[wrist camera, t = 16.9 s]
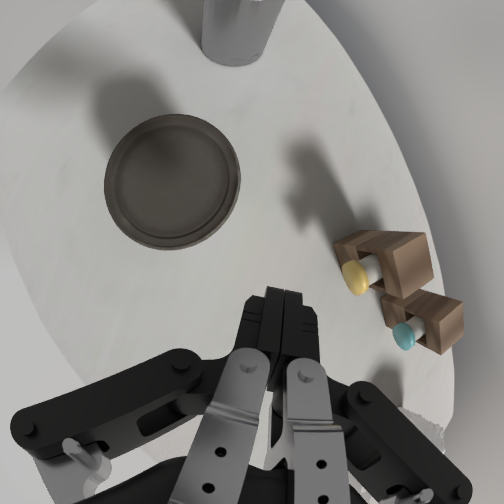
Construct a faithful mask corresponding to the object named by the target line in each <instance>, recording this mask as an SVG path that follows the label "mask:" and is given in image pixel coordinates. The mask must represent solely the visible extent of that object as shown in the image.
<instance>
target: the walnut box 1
mask: <svg viewBox="0 0 504 504" xmlns="http://www.w3.org/2000/svg"><path fill="white" fill-rule="evenodd" d="M333 245H334V248H335V251H336V254H337V257H338V260H339V263H340V266H341V270H342V266H343V264H345V263H347V262H349V261H351V260H356V261H359V260H361V259H363V258H365V257H367V256H369V255H370V254H372V253H377V256H378V260H379V263H380V267H381V271H382V275H383V278H381V279H380V280H378V281H376V282H374V283H373V284H371V285H369V287H370V288H373V289H376V290H379V291H381V292H384V293H387V294H390V295H392V296H395V297H398V298H401V299H405V298H406V297H408V296H409V295H411V294H412V293H414V292H415V291H416V290H418V289H419V288H421V287H422V286H424V285H425V284H426V283H428V282H429V281H431V280H432V279H433V278H434V275H433V269H432V263H431V258H430V253H429V248H428V243H427V238H426V234H425V233H423V232H399V231H371V230H361V231H359V232H357V233H355V234H352V235H350V236H348V237H346V238H344V239H342V240H339V241H337V242H335V243H333Z"/></svg>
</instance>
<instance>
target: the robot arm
mask: <svg viewBox="0 0 504 504" xmlns="http://www.w3.org/2000/svg"><path fill="white" fill-rule="evenodd" d="M284 1H285V0H204V1H203V16H202V34H201V47H202V50H203V53H204V54H205V55H206V56H207V57H208V58H209V59H210V60H212V61H214V62H216V63H218V64H221V65H225V66H244V65H248V64H251V63H252V62H254V61H256V60H257V59H258V58H260V56H261V55H262V53H263V51H264V48H265V46H266V43H267V41H268V39H269V36H270V34H271V31H272V29H273V27H274V24H275V22H276V20H277V17H278V15H279V13H280V10H281V8H282V6H283V3H284ZM317 326H318V321H317V315H316V313H315V312H314V310H313V308H312V307H309V306H304V305H303V299H302V293H299V292H294V291H289V290H285V291H284V289H279V288H274V287H270V286H267V288H266V292H265V296H264V297H259V296H254V295H252V296H251V297H250V298H249V299H248V300H247V301H246V302H245V306H244V309H243V313H242V317H241V321H240V325H239V329H238V333H237V337H236V341H235V345H234V348H233V350H232V351H231V352H230V354H228V355H227V356H225V357H223V358H220V359H215V360H201V358H200V357H199V356H198V355H197V354H196V353H194V352H193V351H191V350H188V349H182V348H178V349H172V350H169V351H167V352H165V353H163V354H161V355H158V356H156V357H154V358H152V359H149V360H147V361H145V362H143V363H140V364H138V365H136V366H133V367H131V368H129V369H126V370H124V371H122V372H119V373H117V374H114V375H112V376H110V377H107V378H105V379H102V380H100V381H97V382H95V383H92V384H90V385H87V386H85V387H82V388H79V389H77V390H74V391H72V392H69V393H66V394H64V395H61V396H58V397H55V398H53V399H50V400H47V401H44V402H42V403H38V404H36V405H33V406H30V407H27V408H24V409H21V410H19V411H17V412H16V413H15V414H14V416H13V417H12V420H11V424H10V430H11V434H12V437H13V439H14V440H15V442H17V444H18V445H19V446H21V447H22V448H23V449H25V450H26V451H27V452H28V453H29V454H30V455H31V456H32V457H33V459H34V461H35V464H36V466H37V468H38V471H39V473H40V475H41V477H42V479H43V482H44V484H45V485H46V488H47V490H48V491H49V494H50V495H51V497H52V499H53V501H54V503H55V504H368V503H367V502H366V501H365V500H364V499H363V498H362V497H361V495H360V494H359V493H358V492H357V491H356V490H355V488H353V487H352V486H351V485H350V484H349V480H348V471H350V473H351V474H352V475H353V476H354V477H355V478H356V479H357V481H358V482H359V483H360V484H361V485H362V486H363V487H364V488H365V489H366V490H367V491H368V492H369V493H370V495H371V496H372V497H373V498H374V499H375V500H376V501H377V502H378V503H379V504H468V503H469V501H470V499H471V497H472V491H473V490H472V484H471V482H470V480H469V479H468V478H467V477H466V476H465V475H464V474H463V473H462V472H461V471H460V470H459V469H458V468H457V467H456V466H454V464H453V463H452V462H451V461H450V460H449V459H448V458H447V457H446V456H445V455H444V454H443V453H442V452H441V451H440V450H439V449H438V448H437V447H436V446H435V445H434V444H433V443H432V442H431V441H430V440H429V439H428V438H427V437H426V436H425V435H424V434H423V433H422V432H421V431H420V430H419V429H418V428H417V427H416V426H415V425H414V424H413V423H412V422H411V421H410V420H409V419H408V418H407V417H406V416H405V415H404V414H403V413H402V412H401V411H400V410H399V409H398V408H397V407H396V406H395V405H394V404H393V403H392V402H391V401H390V400H389V399H388V398H387V397H386V396H385V395H384V394H383V393H382V392H381V391H380V390H379V389H378V388H377V387H376V386H375V385H373V384H371V383H369V382H366V381H357V382H355V383H353V384H351V385H350V387H349V386H347V385H344V384H342V383H339V382H337V381H335V380H333V379H331V378H330V377H328V376H327V375H326V371H325V369H324V368H323V367H322V365H321V364H320V353H319V336H318V327H317ZM266 386H267V391H271V392H273V399H272V402H271V404H270V407H269V422H268V448H267V454H266V458H265V462H264V469H263V470H262V469H259V468H257V467H254V466H251V465H249V460H250V456H251V453H252V449H253V445H254V441H255V437H256V433H257V429H258V424H259V413H260V409H261V405H262V401H263V397H264V392H265V389H266ZM197 415H203V418H202V420H201V423H200V425H199V428H198V430H197V433H196V435H195V438H194V440H193V443H192V445H191V448H190V450H189V453H188V455H187V456H182V457H176V458H172V459H168V460H165V461H163V462H160V463H158V464H156V465H155V466H153V467H151V468H149V469H147V470H145V471H143V472H142V473H140V474H138V475H136V476H134V477H132V478H130V479H128V480H126V481H124V482H122V483H120V484H118V485H116V486H114V487H111V488H109V489H107V490H105V491H103V492H100V493H98V494H96V495H95V490H96V488H97V486H98V485H99V484H100V483H102V482H103V481H105V480H106V479H107V478H108V477H109V475H110V474H111V469H112V466H111V462H110V460H111V459H113V458H115V457H118V456H120V455H122V454H125V453H127V452H129V451H131V450H133V449H135V448H137V447H140V446H142V445H144V444H146V443H148V442H150V441H152V440H154V439H156V438H158V437H160V436H161V435H163V434H165V433H167V432H169V431H171V430H173V429H175V428H176V427H178V426H180V425H182V424H184V423H185V422H187V421H189V420H191V419H192V418H194V417H196V416H197Z"/></svg>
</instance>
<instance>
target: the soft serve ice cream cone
mask: <svg viewBox="0 0 504 504" xmlns="http://www.w3.org/2000/svg"><path fill="white" fill-rule="evenodd" d="M397 408H398V409H399V410H400V411H401V412H402V413H403V414H404V415H405V416H406V417H407V418H408V419H409V420H410V421H411V422H412V423H413V424H414V425H415V426H416V427H417V428H418V429H419V430H420V431H421V432H422V433H423V434H424V435H425V436H426V437H427V438H428V439H429V440H430V441H431V442H432V443H433V444H434V445H435V446H436V447H437V448H438V449H439V450H440V451H441V452H442V453H443V454H444V452H445V448H446V447H445V444H444V442H443V436H444V432H443V427H439V424H436V425H435V424H434V423H432V422H431V421H428V420H426V419H425V418H423V417H422V416H421V415H419V414H415V413H413V412H411V411H409V410H407V409H405V408H402V407H397Z"/></svg>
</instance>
